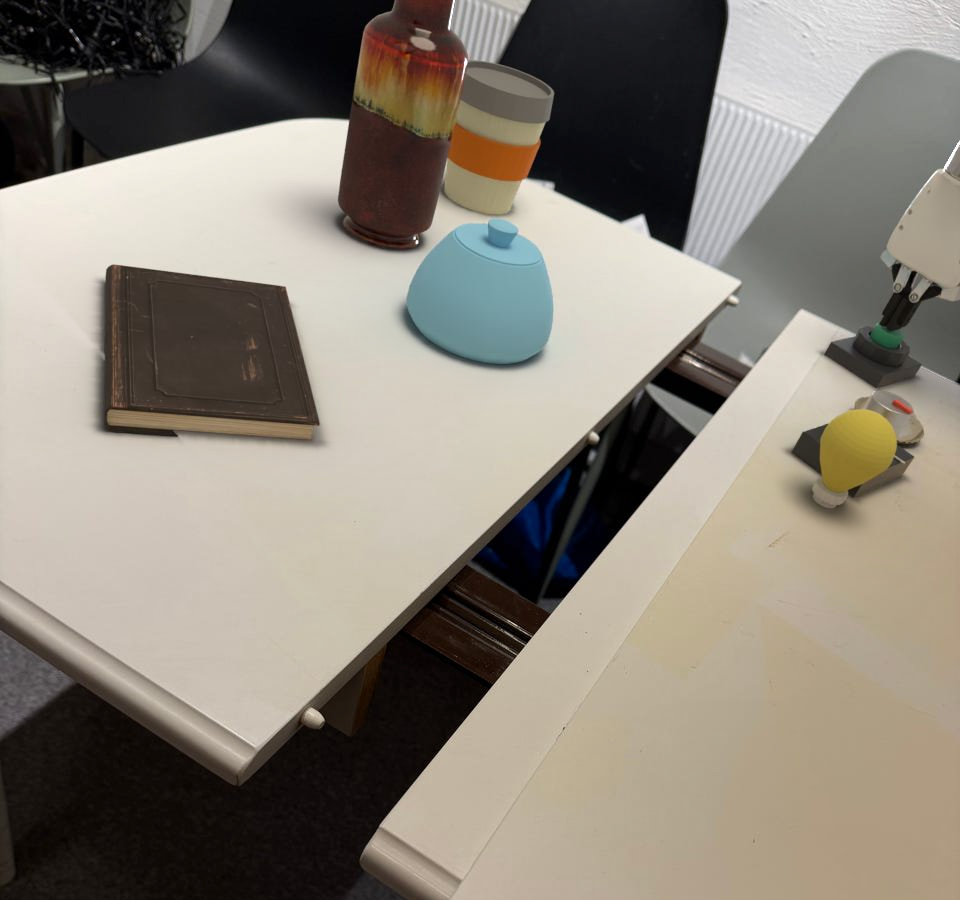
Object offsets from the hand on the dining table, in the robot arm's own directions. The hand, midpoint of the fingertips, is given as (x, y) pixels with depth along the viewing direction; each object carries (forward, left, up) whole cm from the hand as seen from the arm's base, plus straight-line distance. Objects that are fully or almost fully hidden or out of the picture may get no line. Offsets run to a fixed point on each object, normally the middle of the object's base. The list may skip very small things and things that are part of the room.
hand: (890, 326), depth 118 cm
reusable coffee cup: (+25, -49, -6) cm, 55 cm away
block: (0, 0, -6) cm, 6 cm away
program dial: (+24, +13, -3) cm, 27 cm away
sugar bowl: (+50, -20, -6) cm, 54 cm away
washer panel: (+26, +13, -6) cm, 30 cm away
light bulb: (+35, +16, -6) cm, 39 cm away
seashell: (+13, +10, -6) cm, 17 cm away
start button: (0, 0, -2) cm, 2 cm away
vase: (+46, -42, -6) cm, 62 cm away
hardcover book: (+79, -22, -6) cm, 83 cm away
